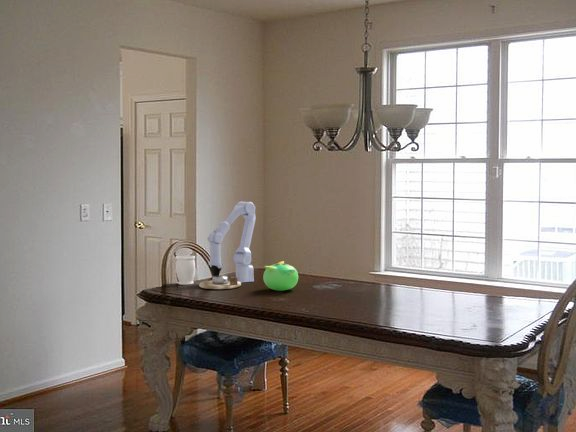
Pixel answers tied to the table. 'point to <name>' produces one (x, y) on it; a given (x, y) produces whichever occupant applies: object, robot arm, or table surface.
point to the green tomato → (280, 276)
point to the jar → (185, 269)
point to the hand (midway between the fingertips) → (215, 279)
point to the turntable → (231, 284)
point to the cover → (220, 280)
